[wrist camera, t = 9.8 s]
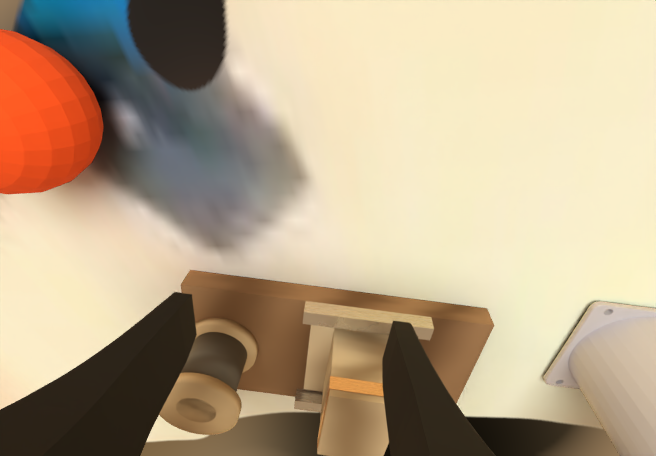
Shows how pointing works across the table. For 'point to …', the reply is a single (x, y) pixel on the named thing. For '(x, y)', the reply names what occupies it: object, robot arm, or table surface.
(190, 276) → the brown rectangular board
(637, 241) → the table surface
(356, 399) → the block
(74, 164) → the clementine
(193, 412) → the spool
